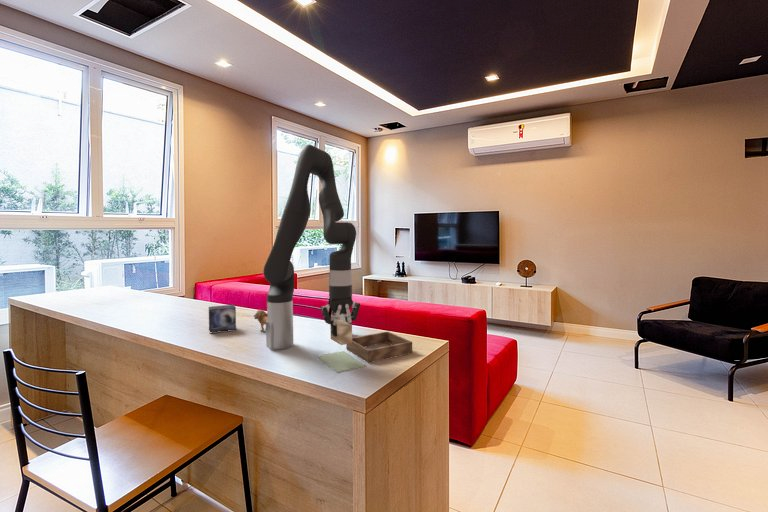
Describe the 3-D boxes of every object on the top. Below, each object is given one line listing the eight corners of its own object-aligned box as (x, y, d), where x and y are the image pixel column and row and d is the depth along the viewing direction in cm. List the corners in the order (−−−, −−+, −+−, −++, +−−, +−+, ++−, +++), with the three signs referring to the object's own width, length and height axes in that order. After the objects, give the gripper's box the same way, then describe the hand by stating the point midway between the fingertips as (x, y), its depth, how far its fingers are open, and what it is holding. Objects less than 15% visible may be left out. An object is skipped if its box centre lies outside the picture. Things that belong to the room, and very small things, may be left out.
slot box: (368, 362, 120) (368, 350, 120) (346, 349, 133) (346, 338, 133) (412, 352, 130) (412, 341, 129) (387, 341, 143) (387, 331, 143)
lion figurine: (252, 330, 159) (251, 310, 158) (262, 327, 163) (262, 308, 163) (272, 336, 150) (272, 314, 149) (283, 333, 154) (283, 312, 154)
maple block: (341, 345, 116) (340, 326, 116) (330, 338, 123) (330, 321, 123) (352, 343, 119) (352, 324, 118) (341, 337, 125) (341, 319, 125)
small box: (209, 334, 154) (208, 309, 153) (208, 330, 159) (207, 306, 159) (236, 330, 159) (235, 306, 158) (234, 327, 164) (234, 304, 164)
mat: (337, 372, 112) (337, 371, 112) (317, 357, 125) (317, 356, 125) (366, 366, 117) (366, 364, 117) (343, 352, 131) (343, 350, 131)
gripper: (325, 286, 113) (325, 341, 114) (365, 283, 120) (365, 334, 121) (315, 283, 119) (316, 335, 120) (354, 280, 126) (354, 329, 128)
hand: (341, 334), depth 121 cm, fingers closed on maple block, 4 cm apart
